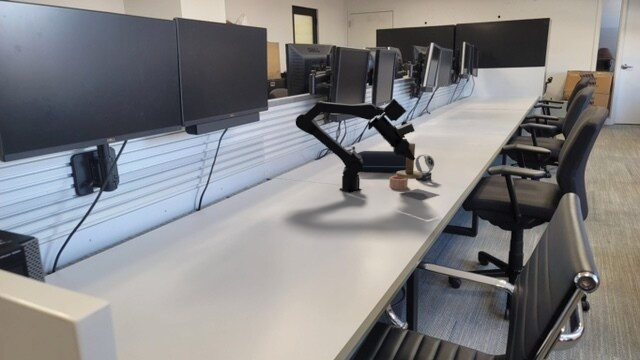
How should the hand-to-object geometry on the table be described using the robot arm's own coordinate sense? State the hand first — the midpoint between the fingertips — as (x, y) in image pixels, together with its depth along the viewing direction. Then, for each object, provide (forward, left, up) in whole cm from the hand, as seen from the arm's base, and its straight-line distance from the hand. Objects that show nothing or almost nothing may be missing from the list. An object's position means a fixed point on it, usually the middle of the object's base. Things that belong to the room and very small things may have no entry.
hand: (413, 158), depth 173 cm
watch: (+17, +9, -13) cm, 24 cm away
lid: (-1, +1, -7) cm, 7 cm away
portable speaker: (+13, +29, -14) cm, 35 cm away
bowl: (0, +8, -13) cm, 15 cm away
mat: (-2, -5, -13) cm, 14 cm away
